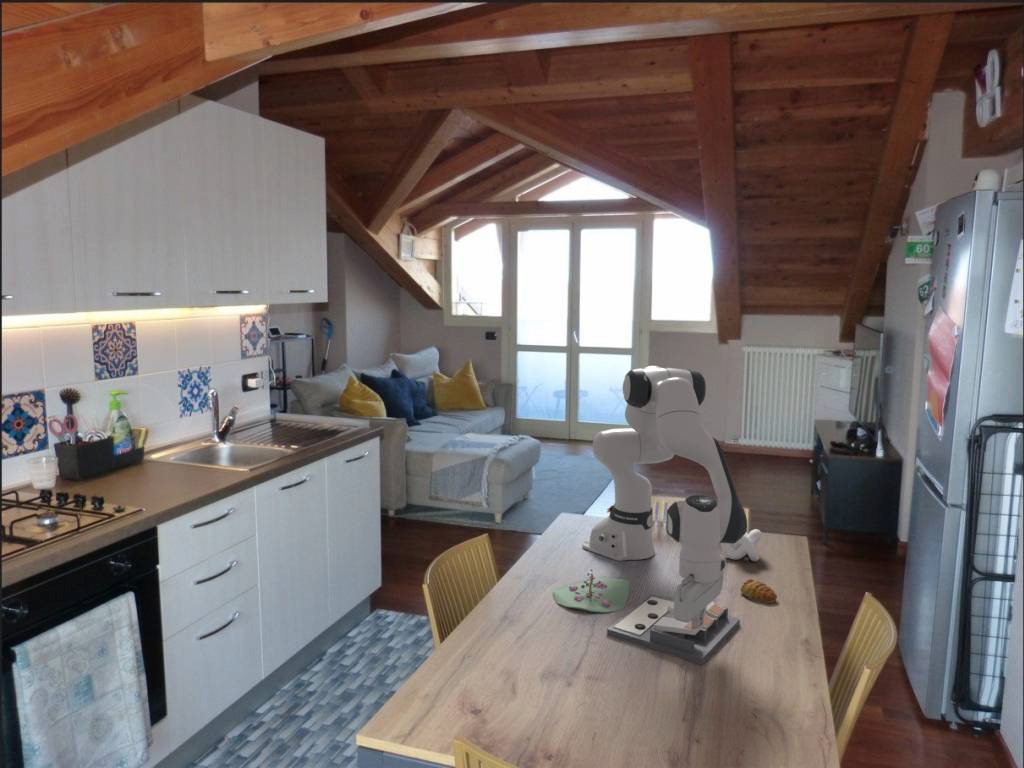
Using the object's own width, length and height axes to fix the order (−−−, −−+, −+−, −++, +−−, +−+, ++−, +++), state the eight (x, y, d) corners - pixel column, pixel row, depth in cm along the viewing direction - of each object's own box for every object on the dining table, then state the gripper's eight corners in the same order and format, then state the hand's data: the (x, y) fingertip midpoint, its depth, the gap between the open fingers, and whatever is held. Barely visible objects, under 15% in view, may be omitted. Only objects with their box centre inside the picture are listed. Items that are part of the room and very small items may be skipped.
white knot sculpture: (771, 564, 230) (773, 535, 229) (733, 567, 228) (734, 538, 227) (754, 550, 241) (755, 523, 240) (717, 552, 240) (718, 525, 238)
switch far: (678, 600, 193) (680, 595, 193) (687, 593, 197) (688, 588, 197) (715, 620, 188) (717, 615, 187) (723, 612, 192) (725, 608, 191)
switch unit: (606, 634, 187) (607, 619, 186) (650, 599, 206) (651, 585, 206) (702, 665, 173) (702, 648, 172) (739, 624, 192) (740, 609, 192)
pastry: (782, 600, 206) (783, 587, 206) (766, 607, 203) (767, 593, 202) (753, 588, 214) (754, 575, 213) (737, 594, 210) (738, 581, 210)
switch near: (654, 629, 182) (653, 624, 182) (663, 621, 186) (663, 616, 186) (694, 635, 176) (694, 629, 176) (703, 626, 180) (702, 621, 180)
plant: (580, 572, 226) (581, 542, 224) (648, 587, 216) (649, 556, 214) (539, 604, 205) (539, 572, 203) (612, 623, 194) (613, 588, 193)
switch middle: (666, 610, 187) (668, 605, 187) (675, 602, 191) (677, 598, 191) (704, 631, 182) (706, 626, 182) (712, 623, 186) (714, 618, 186)
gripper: (694, 586, 166) (692, 647, 168) (728, 557, 182) (726, 613, 184) (666, 579, 169) (665, 639, 171) (703, 552, 186) (701, 606, 188)
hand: (697, 625), depth 178 cm, fingers closed, pressing on switch near
